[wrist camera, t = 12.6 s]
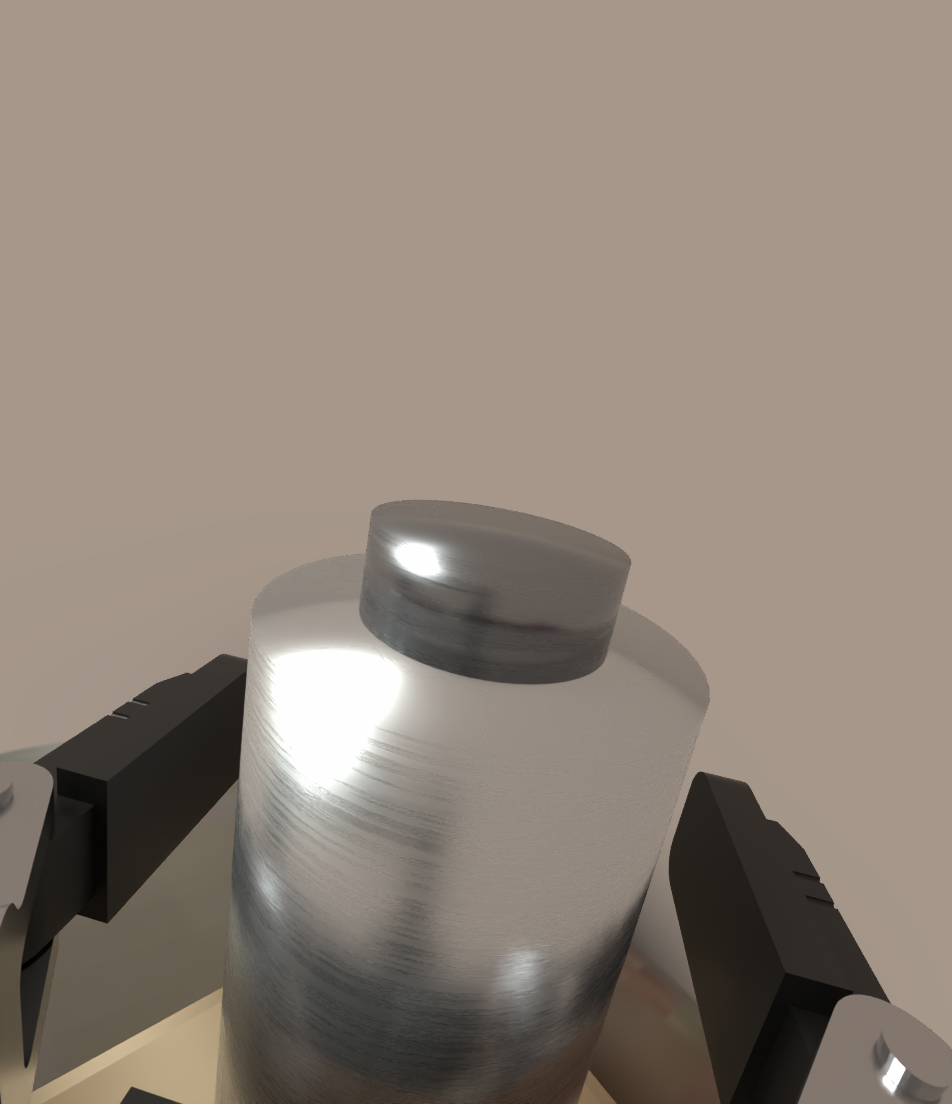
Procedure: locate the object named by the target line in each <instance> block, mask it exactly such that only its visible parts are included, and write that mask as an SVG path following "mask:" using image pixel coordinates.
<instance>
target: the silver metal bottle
mask: <svg viewBox="0 0 952 1104" xmlns="http://www.w3.org/2000/svg"><path fill="white" fill-rule="evenodd" d="M630 566H631V559H630V558H629V556H628V555H627V554H626V553H625V552H624V551H623V550H621V549H620V548H619V547H617V546H616V545H614V544H612V543H610V542H608V541H607V540H605V539H603V538H600V537H598V536H596V535H594V534H591V533H588V532H586V531H583V530H581V529H578V528H575V527H572V526H569V525H565V524H563V523H559V522H556V521H553V520H549V519H545V518H542V517H538V516H534V515H529V514H525V513H521V512H516V511H511V510H506V509H501V508H495V507H489V506H482V505H477V504H469V503H460V502H450V501H437V500H436V501H435V500H404V501H395V502H389V503H385V504H382V505H379V506H378V507H375V508H374V509H373V510H372V513H371V518H370V526H369V534H368V542H367V549H366V554H354V555H346V556H339V557H333V558H328V559H324V560H319V561H315V562H312V563H308V564H305V565H302V566H299V567H297V568H295V569H292V570H290V571H288V572H285V573H284V574H282V575H280V576H279V577H277V578H275V579H274V580H272V581H271V582H270V583H269V584H268V585H267V586H265V587H264V588H263V590H262V591H261V592H260V594H259V595H258V596H257V598H256V599H255V602H254V605H253V608H252V613H251V625H250V638H249V651H248V664H247V677H246V691H245V704H244V717H243V730H242V743H241V757H240V770H239V783H238V796H237V809H236V823H235V836H234V849H233V862H232V876H231V889H230V902H229V915H228V928H227V942H226V955H225V968H224V981H223V994H222V1008H221V1021H220V1034H219V1047H218V1060H217V1074H216V1087H215V1100H214V1104H578V1101H579V1098H580V1095H581V1092H582V1089H583V1086H584V1083H585V1080H586V1077H587V1074H588V1071H589V1068H590V1065H591V1062H592V1059H593V1056H594V1053H595V1050H596V1047H597V1043H598V1040H599V1037H600V1034H601V1031H602V1028H603V1025H604V1022H605V1019H606V1016H607V1013H608V1010H609V1007H610V1004H611V1001H612V998H613V995H614V992H615V989H616V985H617V982H618V979H619V976H620V973H621V970H622V967H623V964H624V961H625V958H626V955H627V952H628V949H629V946H630V943H631V940H632V936H633V933H634V930H635V927H636V924H637V921H638V918H639V915H640V912H641V909H642V906H643V903H644V900H645V897H646V894H647V891H648V888H649V885H650V882H651V878H652V875H653V872H654V869H655V866H656V863H657V860H658V857H659V854H660V851H661V848H662V845H663V842H664V839H665V836H666V833H667V830H668V827H669V824H670V821H671V818H672V814H673V811H674V808H675V805H676V802H677V799H678V796H679V793H680V790H681V787H682V784H683V781H684V778H685V775H686V772H687V769H688V766H689V763H690V759H691V756H692V753H693V750H694V747H695V744H696V741H697V738H698V735H699V732H700V729H701V726H702V723H703V720H704V717H705V714H706V710H707V707H708V705H709V701H710V697H709V685H708V682H707V679H706V676H705V674H704V672H703V670H702V669H701V667H700V665H699V664H698V662H697V661H696V660H695V658H694V657H693V656H692V655H691V654H690V652H689V651H688V650H687V649H686V648H685V647H684V646H683V645H682V644H681V643H679V642H678V641H677V640H676V639H675V638H674V637H673V636H671V635H670V634H669V633H667V632H666V631H665V630H663V629H662V628H661V627H659V626H658V625H656V624H655V623H653V622H652V621H650V620H648V619H647V618H645V617H644V616H642V615H640V614H638V613H637V612H635V611H633V610H631V609H629V608H628V607H626V606H623V605H622V604H621V600H622V596H623V592H624V589H625V585H626V580H627V577H628V573H629V570H630Z"/></svg>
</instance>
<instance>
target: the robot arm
mask: <svg viewBox="0 0 952 1104" xmlns="http://www.w3.org/2000/svg"><path fill="white" fill-rule="evenodd" d="M247 664H248V659H243V658H239V657H235V656H231V655H227V654H222V655H219V656H218V657H216V658H215V659H213V660H212V661H210V662H209V663H207V664H206V665H204V666H203V667H201V668H200V669H199V670H197V671H196V672H194V673H193V674H190V673H185V674H182V675H179V676H176V677H173V678H170V679H167V680H164V681H162V682H159V683H156V684H155V685H153V686H152V687H150V688H148V689H147V690H145V691H144V692H143V693H141V694H139V695H138V696H136V697H135V698H133V700H132V702H127V703H125V704H124V705H123V706H121V707H119V708H118V709H116V710H115V711H113V713H112V715H111V716H109V715H107V716H105V717H104V718H102V719H101V720H99V721H98V722H97V723H95V724H93V725H92V726H90V727H88V728H87V729H85V730H84V731H82V732H81V733H79V734H78V735H76V736H75V737H73V738H72V739H70V740H68V741H67V742H65V743H64V744H62V745H61V746H59V747H58V748H56V749H55V750H53V751H52V752H50V753H48V754H47V755H45V756H44V757H42V758H41V759H39V760H38V761H36V762H35V763H33V764H32V763H28V762H0V1104H31V1096H32V1089H33V1083H34V1077H35V1072H36V1067H37V1061H38V1056H39V1050H40V1045H41V1039H42V1034H43V1028H44V1023H45V1017H46V1012H47V1006H48V1001H49V995H50V990H51V985H52V979H53V974H54V968H55V963H56V957H57V952H58V942H59V940H58V933H59V931H60V930H61V929H62V928H63V927H64V926H65V925H66V924H67V923H68V922H69V921H70V920H71V919H72V918H73V917H74V916H75V915H76V914H78V915H81V916H84V917H88V918H91V919H94V920H97V921H101V922H104V923H108V922H109V921H110V920H111V919H112V918H113V917H114V916H115V915H116V914H117V912H118V911H119V910H120V909H121V908H122V907H123V906H124V905H125V904H126V902H127V901H128V900H129V899H130V898H131V897H132V896H133V895H134V894H135V892H136V891H137V890H138V889H139V888H140V887H141V886H142V885H143V884H144V882H145V881H146V880H147V879H148V878H149V877H150V876H151V875H152V874H153V872H154V871H155V870H156V869H157V868H158V867H159V866H160V865H161V864H162V863H163V861H164V860H165V859H166V858H167V857H168V856H169V855H170V854H171V853H172V851H173V850H174V849H175V848H176V847H177V846H178V845H179V844H180V843H181V841H182V840H183V839H184V838H185V837H186V836H187V835H188V834H189V833H190V831H191V830H192V829H193V828H194V827H195V826H196V825H197V824H198V823H199V822H200V820H201V819H202V818H203V817H204V816H205V815H206V814H207V813H208V812H209V810H210V809H211V808H212V807H213V806H214V805H215V804H216V803H217V802H218V800H219V799H220V798H221V797H222V796H223V795H224V794H225V793H226V792H227V790H228V789H229V788H230V787H231V786H232V785H233V784H234V783H235V782H236V780H237V779H238V778H239V770H240V757H241V743H242V730H243V717H244V704H245V691H246V677H247ZM669 880H670V886H671V890H672V895H673V899H674V904H675V908H676V912H677V916H678V921H679V925H680V929H681V934H682V938H683V942H684V946H685V951H686V955H687V960H688V964H689V968H690V973H691V977H692V981H693V986H694V990H695V994H696V999H697V1003H698V1007H699V1011H700V1016H701V1020H702V1024H703V1029H704V1033H705V1037H706V1042H707V1046H708V1050H709V1055H710V1059H711V1063H712V1068H713V1072H714V1076H715V1081H716V1085H717V1089H718V1093H719V1098H720V1102H721V1104H952V1049H951V1048H950V1047H949V1046H948V1045H947V1044H946V1043H945V1042H944V1041H943V1040H942V1039H941V1038H940V1037H939V1036H938V1035H936V1034H935V1033H934V1032H933V1031H932V1030H931V1029H929V1028H928V1027H927V1026H925V1025H924V1024H923V1023H921V1022H920V1021H919V1020H917V1019H916V1018H914V1017H913V1016H911V1015H910V1014H908V1013H907V1012H905V1011H903V1010H901V1009H900V1008H898V1007H896V1006H894V1005H892V1004H891V1003H890V1001H889V1000H888V998H887V996H886V994H885V993H884V991H883V989H882V987H881V985H880V984H879V982H878V980H877V978H876V976H875V975H874V973H873V971H872V970H871V968H870V966H869V964H868V962H867V960H866V959H865V957H864V955H863V954H862V952H861V950H860V948H859V946H858V945H857V943H856V941H855V939H854V937H853V936H852V934H851V932H850V930H849V928H848V927H847V925H846V923H845V921H844V920H843V918H842V916H841V914H840V913H839V911H838V909H835V908H834V902H833V900H832V898H831V897H830V895H829V893H828V891H827V889H826V888H825V886H824V884H822V883H820V877H819V875H818V873H817V872H816V870H815V868H814V866H813V864H812V863H811V861H810V859H809V857H808V856H807V854H806V852H805V850H804V849H803V848H802V847H801V846H800V845H799V844H798V843H797V842H796V841H795V839H794V838H793V837H792V836H791V835H790V834H789V833H788V832H787V831H786V830H785V829H784V828H783V827H782V826H781V825H780V824H779V823H778V822H776V821H772V820H768V819H766V818H765V816H764V814H763V812H762V810H761V808H760V806H759V804H758V802H757V800H756V798H755V796H754V794H753V792H752V790H751V789H750V787H749V785H748V784H747V783H745V782H742V781H738V780H733V779H729V778H725V777H721V776H717V775H713V774H709V773H705V772H698V773H697V774H696V775H695V777H694V779H693V781H692V784H691V787H690V790H689V793H688V796H687V799H686V802H685V805H684V808H683V811H682V814H681V817H680V820H679V824H678V826H677V829H676V832H675V835H674V839H673V842H672V846H671V850H670V857H669ZM120 1104H182V1103H179V1102H176V1101H173V1100H170V1099H167V1098H164V1097H161V1096H158V1095H155V1094H152V1093H149V1092H146V1091H143V1090H141V1089H138V1088H135V1087H132V1086H131V1087H130V1089H129V1091H128V1092H127V1094H126V1095H125V1097H124V1098H123V1100H122V1101H121V1103H120Z"/></svg>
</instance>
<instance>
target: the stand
mask: <svg viewBox="0 0 952 1104" xmlns="http://www.w3.org/2000/svg"><path fill="white" fill-rule="evenodd" d="M222 994H223V987H222V988H220V989H219V990H217V991H215V992H213V993H211V994H210V995H208V996H206V997H204V998H202V999H201V1000H199V1001H197V1002H195V1003H193V1004H191V1005H190V1006H188V1007H186V1008H184V1009H182V1010H181V1011H179V1012H177V1013H175V1014H173V1015H171V1016H170V1017H168V1018H166V1019H164V1020H162V1021H161V1022H159V1023H157V1024H155V1025H153V1026H152V1027H150V1028H148V1029H146V1030H144V1031H142V1032H141V1033H139V1034H137V1035H135V1036H133V1037H132V1038H130V1039H128V1040H126V1041H124V1042H123V1043H121V1044H119V1045H117V1046H115V1047H113V1048H112V1049H110V1050H108V1051H106V1052H104V1053H103V1054H101V1055H99V1056H97V1057H95V1058H93V1059H92V1060H90V1061H88V1062H86V1063H84V1064H83V1065H81V1066H79V1067H77V1068H75V1069H74V1070H72V1071H70V1072H68V1073H66V1074H64V1075H63V1076H61V1077H59V1078H57V1079H55V1080H54V1081H52V1082H50V1083H48V1084H46V1085H45V1086H43V1087H41V1088H39V1089H37V1090H35V1091H34V1092H32V1096H31V1104H120V1103H121V1101H122V1100H123V1098H124V1097H125V1095H126V1094H127V1092H128V1091H129V1089H130V1087H131V1086H132V1087H135V1088H138V1089H141V1090H143V1091H146V1092H149V1093H152V1094H155V1095H158V1096H161V1097H164V1098H167V1099H170V1100H173V1101H176V1102H179V1103H182V1104H214V1100H215V1087H216V1074H217V1060H218V1047H219V1034H220V1021H221V1008H222ZM578 1104H616V1102H615V1101H614V1100H613V1099H612V1098H611V1096H610V1095H609V1094H608V1093H607V1091H606V1090H605V1089H604V1088H603V1086H602V1085H601V1084H600V1083H599V1082H598V1080H597V1079H596V1078H595V1077H594V1075H593V1074H592V1073H591V1072H590V1071H588V1074H587V1077H586V1080H585V1083H584V1086H583V1089H582V1092H581V1095H580V1098H579V1101H578Z"/></svg>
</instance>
